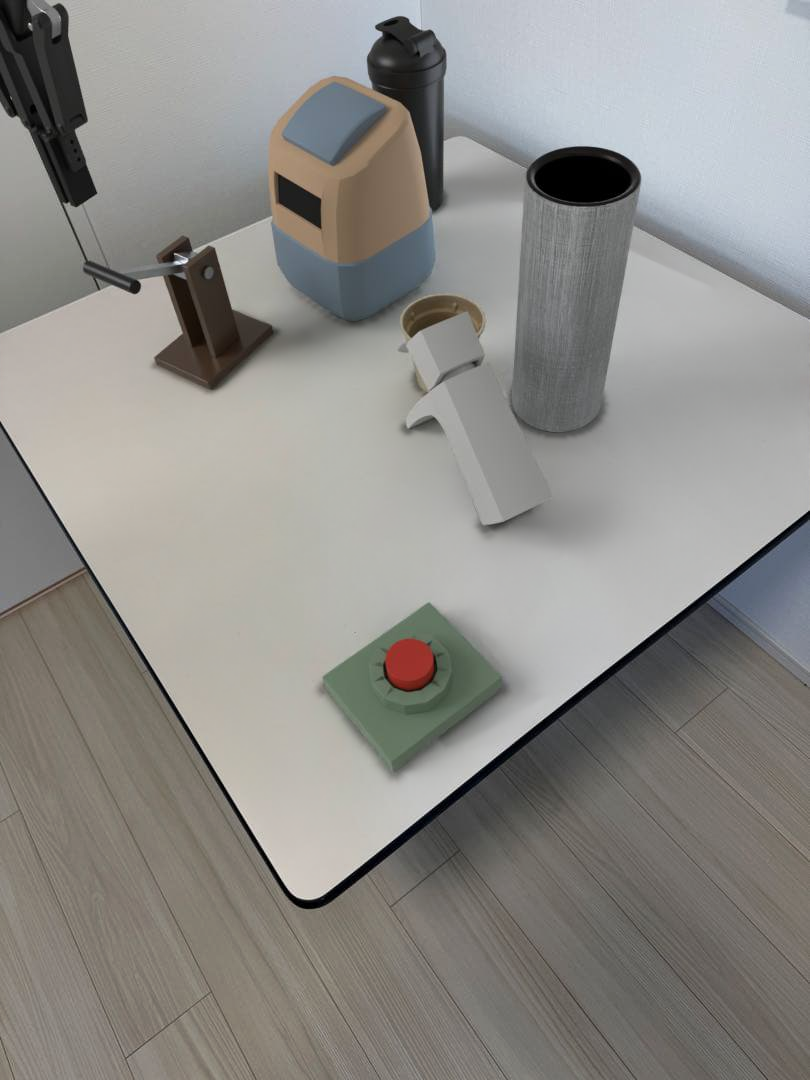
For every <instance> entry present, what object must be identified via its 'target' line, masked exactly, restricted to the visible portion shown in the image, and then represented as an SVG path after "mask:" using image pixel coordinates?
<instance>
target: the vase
mask: <svg viewBox="0 0 810 1080" xmlns="http://www.w3.org/2000/svg"><path fill="white" fill-rule="evenodd" d="M641 186H642V173H641V171H640V169H639V167H638V166H637V165H636V163H635V162H634V161H633V160H632V159H630V158H629V157H627V156H626V155H624V154H622V153H620V152H618V151H615V150H612V149H608V148H604V147H600V146H592V145H591V146H590V145H572V146H565V147H561V148H560V147H559V148H556V149H553V150H550V151H547V152H546V153H543V154H541V155H540V156H538V157H537V158H535V159H534V161H532V162H531V163H530V165H529V166H528V168H527V169H526V171H525V176H524V186H523V203H522V204H523V205H522V220H521V221H522V222H521V234H520V235H521V236H520V237H521V238H520V251H519V253H520V254H519V271H518V286H517V289H518V290H517V302H516V304H517V306H516V321H515V337H514V353H513V356H514V357H513V369H512V370H513V371H512V385H511V386H512V387H511V388H512V389H511V402H512V407H513V409H514V412H515V413H516V415H517V416H518V418H520V419H521V420H522V421H523V422H525V423H526V424H527V425H529V426H531V427H533V428H535V429H538V430H542V431H545V432H553V433H565V432H572V431H576V430H579V429H581V428H584V427H585V426H588V425H589V424H590V423H591V422H592V421H593V420H594V419H595V418H596V417H597V415H598V414H599V412H600V409H601V406H602V402H603V396H604V392H605V386H606V382H607V381H606V380H607V374H608V370H609V369H608V368H609V364H610V358H611V352H612V347H613V341H614V336H615V332H616V331H615V330H616V324H617V321H618V314H619V310H620V309H619V308H620V302H621V296H622V292H623V286H624V282H625V281H624V280H625V275H626V269H627V265H628V259H629V254H630V253H629V252H630V248H631V241H632V236H633V230H634V224H635V220H636V214H637V209H638V203H639V197H640V191H641Z"/></svg>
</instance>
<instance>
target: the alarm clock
mask: <svg viewBox="0 0 810 1080" xmlns="http://www.w3.org/2000/svg"><path fill="white" fill-rule="evenodd" d="M267 179H268V187H269V188H268V189H269V197H270V208H271V209H270V210H271V223H270V226H271V232H272V238H273V245H274V252H275V256H276V257H275V258H276V263H277V266H278V268H279V270H280V271H281V273H282V274H283V276H284V278H285V279H286V280H287V282H288V283H289V285H291V286H292V287H294V288H295V289H296V290H298V291H299V292H300V293H302V294H304V296H306V297H308V298H309V299H311V300H312V301H313V302H315V303H316V304H318V305H320V307H322V308H323V309H325V310H326V311H328V312H329V313H331V314H333V315H334V316H335V317H337V318H339V319H342V320H345V321H362V320H364V319H367V318H370V317H372V316H373V315H375V314H377V313H378V312H380V311H382V310H384V309H385V308H387V307H388V306H390V305H391V304H393V303H395V302H396V301H398V300H399V299H401V298H403V297H404V296H406V295H408V294H409V293H411V292H412V291H415V290H416V289H418V288H419V287H420V286H421V284H422V283H423V282H424V281H425V280H426V279H428V277H430V275H431V274H432V272H433V268H434V265H435V263H436V242H435V241H436V240H435V230H434V228H435V227H434V217H433V212H432V209H431V208H430V207H429V201H428V194H427V188H426V182H425V176H424V169H423V163H422V157H421V151H420V148H419V144H418V141H417V137H416V134H415V130H414V127H413V123H412V120H411V116H410V113H409V111H408V110H407V109H406V108H405V107H404V106H403V105H402V104H401V103H400V102H398V101H396V100H394V99H392V98H390V97H387V96H385V95H383V94H381V93H379V92H377V91H375V90H372V88H370V87H368V86H366V85H364V84H361V83H359V82H358V81H355V80H353V79H351V78H349V77H345V76H339V75H338V76H337V75H332V76H329V77H328V76H327V77H325V78H322V79H320V80H318V81H317V82H316V83H314V84H313V85H311V86H310V87H308V88H307V90H306V91H304V93H303V94H302V95H301V96H300V97H299V98H298V99H296V101H295V102H294V103H293V104H292V105H291V106H290V107H289V108H288V109H287V110H286V111H285V112H284V113H283V114H282V115H281V116H280V118H279V119H278V120H277V122H276V123H275V125H274V126H273V127H272V129H271V132H270V137H269V142H268V163H267Z"/></svg>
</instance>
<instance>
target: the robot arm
mask: <svg viewBox="0 0 810 1080" xmlns="http://www.w3.org/2000/svg"><path fill="white" fill-rule="evenodd" d="M69 25H70V16H69V13H68V10H67V8H66V7H65V5H63V4H62V3H60V2H58V3H55V4H53V5H50V4H49V3H48V2H47V1H46V0H0V104H1V106H2V108H3V110H4V112H5V113H6V114H7V116H8V117H10V118H11V119H14V118H15V117H17V118H19V120H20V122H21V124H22V126H23V127H24V128H25V129H26V130H28V131H30V134H31V136H32V138H33V140H34V143H35V145H36V147H37V150H38V152H39V153H40V156H41V158H42V160H43V163H44V165H45V168H46V169H47V172H48V174H49V177H50V178H51V181H52V183H53V186H54V188H55V190H56V193H57V196H58V197H59V200H60V202H61V203H63V204H65V205H68V204H70V206H71V207H72V208H73V207H74V208H78V207H80V206H81V205H82V204H85V202H87V201H89V200H90V199H92V198H93V197H95V196H96V195H98V191H97V188H96V186H95V183H94V180H93V178H92V175H91V173H90V171H89V168H88V165H87V158H86V157H85V154H84V152H83V149H82V146H81V144H80V141H79V138H78V135H77V133H76V130H77V129H79V128H80V127H82V126H84V125H86V124H87V123H89V118H88V115H87V110H86V105H85V102H84V97H83V93H82V89H81V85H80V80H79V76H78V72H77V67H76V63H75V59H74V55H73V50H72V45H71V42H70V37H69Z"/></svg>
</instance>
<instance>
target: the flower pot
mask: <svg viewBox="0 0 810 1080" xmlns="http://www.w3.org/2000/svg"><path fill="white" fill-rule="evenodd" d="M467 311H468V313H469V316H470V318H471V321H472V323H473V326H474V328H475V331H476V334H477V336H478V339H479V340H480V337H481V335H482V334H483V332H484V330H485V329H486V322H487V317H486V314H485V311H484V309H483V308H482V306H480V305H479V304H478V303H477V302H476V301H474V300H473V299H470V298H469V297H468V296H467V297H466V296H464V295H461V294H457V293H445V292H443V293H442V292H441V293H434V294H433V293H432V294H429V295H425V296H422V297H420V298H417V299H416V300H414V301H412V302H411V303H409V304H408V305H407V306H406V307H405V308H404V309H403V311H402V312H401V314H400V317H399V328H400V331H401V333H402V335H403V336H404V338H405V341H406V342H409V341H410V339H411V338H413V337H414V336H415V335H416V334H417V333H418V332H419V331H421V330H423V329H425V328H428V327H430V326H432V325H435V324H437V323H439V322H442V321H444V320H447V319H449V318H452V317H454V316H457V315H459V314H462V313H464V312H467ZM412 364H413V366H414V372H415V376H416V382H417V384H418V386H419V387H420V388H421V390H422V391H424V392H426V394H427V393H429V392H430V391H431V390H430V391H428V389H427V387H426V385H425V383H424V381H423V379H422V377H421V375H420V373H419V371H418V369H417V367H416V365H415V363H414V361H413V360H412Z"/></svg>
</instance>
